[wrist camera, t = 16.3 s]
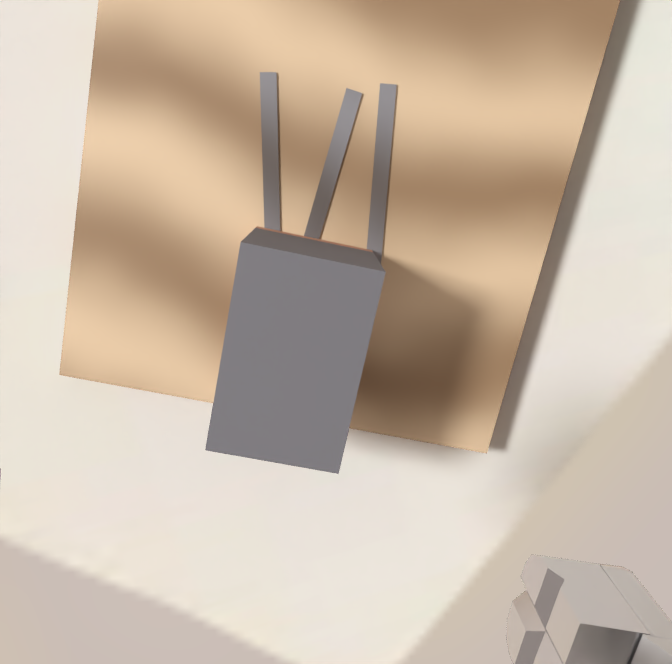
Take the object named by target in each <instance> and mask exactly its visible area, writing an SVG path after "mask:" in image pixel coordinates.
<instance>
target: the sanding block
mask: <svg viewBox="0 0 672 664" xmlns="http://www.w3.org/2000/svg"><path fill="white" fill-rule="evenodd" d="M385 273H386V272H385V270H384V268H383V267H382V265H381V264H380V262H379V261H378V259H377V257H376V256H375V254H374V253H373V251H372V250H369V249H364V248H359V247H354V246H350V245H345V244H340V243H335V242H330V241H326V240H321V239H316V238H311V237H306V236H302V235H297V234H292V233H287V232H282V231H278V230H273V229H268V228H263V227H259V226H257V227H256V228H255V229H254V230H253V231H251V232H250V233H249V234H248V235H247V236H246V237H245V238H244V239H243V240H242V241H241V243H240V249H239V254H238V260H237V266H236V272H235V278H234V284H233V290H232V296H231V302H230V308H229V313H228V319H227V325H226V331H225V337H224V343H223V349H222V355H221V361H220V367H219V373H218V378H217V384H216V390H215V396H214V402H213V408H212V414H211V420H210V426H209V432H208V438H207V443H206V449H205V450H207V451H213V452H219V453H224V454H230V455H236V456H241V457H247V458H253V459H258V460H264V461H270V462H275V463H281V464H287V465H292V466H298V467H304V468H309V469H315V470H320V471H326V472H332V473H337V474H338V473H339V469H340V465H341V461H342V456H343V452H344V448H345V444H346V439H347V435H348V431H349V427H350V422H351V418H352V414H353V409H354V405H355V401H356V397H357V392H358V388H359V384H360V380H361V375H362V371H363V367H364V363H365V358H366V354H367V350H368V345H369V341H370V337H371V333H372V328H373V324H374V320H375V316H376V311H377V307H378V303H379V299H380V294H381V290H382V286H383V281H384V277H385Z"/></svg>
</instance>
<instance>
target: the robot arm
mask: <svg viewBox="0 0 672 664" xmlns="http://www.w3.org/2000/svg"><path fill="white" fill-rule="evenodd" d="M0 478H1V469H0ZM521 579H522V582H523V584H524V587H525V589H526V591H524V592H523V593H522V594H521V595H520V596H518V597H517V598H516V599H514V600H513V601H512V605H511V608H510V611H509V615H508V618H507V634H506V640H507V645H508V651H509V655H510V657H511V660H512V662H513V664H672V621H671V620H670V619H669V618H668V616H667V615H666V614H665V613H664V611H663V610H662V609H661V607H660V606H659V605H658V604H657V603H656V601H655V600H654V599H653V598H652V596H651V595H650V594H649V593H648V591H647V590H646V589H645V587H644V586H643V585H642V584H641V582H640V581H639V580H638V578H637V577H636V576H635V575H634V574H633V572H631V571H630V570H628V569H626V568H624V567H620V566H613V565H604V564H597V563H589V562H582V561H576V560H569V559H562V558H555V557H548V556H541V555H531V556H530V557H529V559H528V560H527V561H526V563H525V566H524V569H523V571H522V574H521Z"/></svg>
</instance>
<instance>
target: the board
mask: <svg viewBox="0 0 672 664" xmlns="http://www.w3.org/2000/svg"><path fill="white" fill-rule="evenodd" d="M619 3H620V0H99V2H98V12H97V21H96V31H95V40H94V50H93V59H92V69H91V79H90V88H89V98H88V107H87V117H86V126H85V136H84V145H83V155H82V164H81V174H80V183H79V193H78V202H77V212H76V221H75V231H74V241H73V250H72V260H71V269H70V279H69V288H68V298H67V307H66V317H65V326H64V336H63V345H62V355H61V364H60V374H59V375H63V376H68V377H74V378H79V379H85V380H90V381H96V382H101V383H106V384H112V385H117V386H123V387H128V388H134V389H139V390H145V391H150V392H155V393H161V394H166V395H172V396H177V397H183V398H188V399H193V400H199V401H204V402H210V403H213V402H214V396H215V390H216V384H217V378H218V373H219V367H220V361H221V355H222V349H223V343H224V337H225V331H226V325H227V319H228V313H229V308H230V302H231V296H232V290H233V284H234V278H235V272H236V266H237V260H238V254H239V249H240V243H241V241H242V240H243V239H244V238H245V237H246V236H247V235H248V234H249V233H250V232H251V231H253V230H254V229H255V228H256V227H257V226H259V227H263V228H268V229H273V230H278V231H282V232H287V233H292V234H297V235H302V236H306V237H311V238H316V239H321V240H326V241H330V242H335V243H340V244H345V245H350V246H354V247H359V248H364V249H369V250H372V251H373V253H374V254H375V256H376V257H377V259H378V261H379V262H380V264H381V265H382V267H383V268H384V270H385V272H386V273H385V277H384V281H383V286H382V290H381V294H380V299H379V303H378V307H377V311H376V316H375V320H374V324H373V328H372V333H371V337H370V341H369V345H368V350H367V354H366V358H365V363H364V367H363V371H362V375H361V380H360V384H359V388H358V392H357V397H356V401H355V405H354V409H353V414H352V418H351V422H350V427H349V428H351V429H357V430H362V431H368V432H373V433H378V434H384V435H389V436H395V437H400V438H406V439H411V440H417V441H422V442H427V443H433V444H438V445H444V446H449V447H455V448H460V449H465V450H471V451H476V452H482V453H487V451H488V448H489V444H490V441H491V438H492V434H493V431H494V427H495V424H496V421H497V417H498V414H499V410H500V407H501V404H502V400H503V397H504V393H505V390H506V387H507V383H508V380H509V376H510V373H511V370H512V366H513V363H514V359H515V356H516V353H517V349H518V346H519V342H520V339H521V336H522V332H523V329H524V325H525V322H526V319H527V315H528V312H529V309H530V305H531V302H532V298H533V295H534V292H535V288H536V285H537V281H538V278H539V275H540V271H541V268H542V264H543V261H544V258H545V254H546V251H547V247H548V244H549V241H550V237H551V234H552V230H553V227H554V224H555V220H556V217H557V213H558V210H559V207H560V203H561V200H562V196H563V193H564V190H565V186H566V183H567V179H568V176H569V173H570V169H571V166H572V162H573V159H574V156H575V152H576V149H577V145H578V142H579V139H580V135H581V132H582V129H583V125H584V122H585V118H586V115H587V112H588V108H589V105H590V101H591V98H592V95H593V91H594V88H595V84H596V81H597V78H598V74H599V71H600V67H601V64H602V61H603V57H604V54H605V50H606V47H607V44H608V40H609V37H610V33H611V30H612V27H613V23H614V20H615V16H616V13H617V10H618V6H619Z"/></svg>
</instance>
